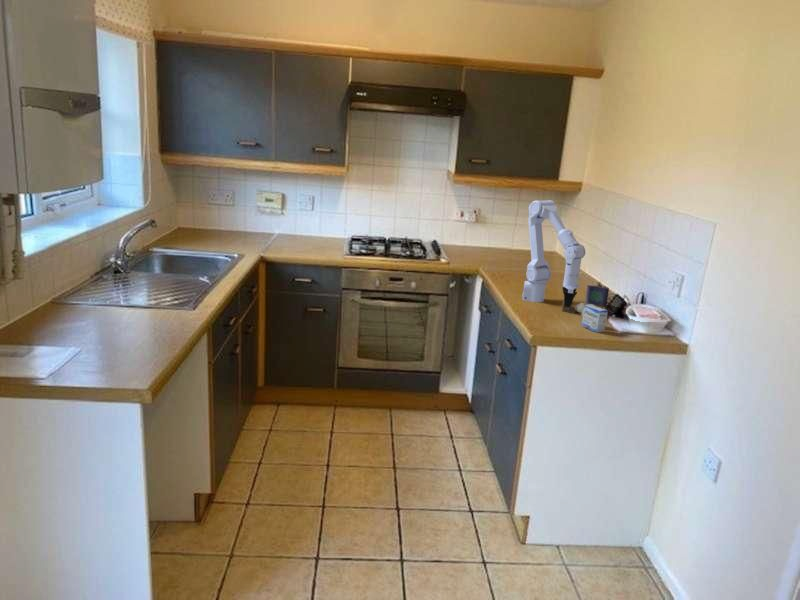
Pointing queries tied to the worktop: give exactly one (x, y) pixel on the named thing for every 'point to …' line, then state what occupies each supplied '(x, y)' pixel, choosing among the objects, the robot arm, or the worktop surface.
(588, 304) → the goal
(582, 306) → the ball
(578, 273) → the robot arm
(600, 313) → the medicine box
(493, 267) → the worktop surface
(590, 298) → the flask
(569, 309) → the kicker
